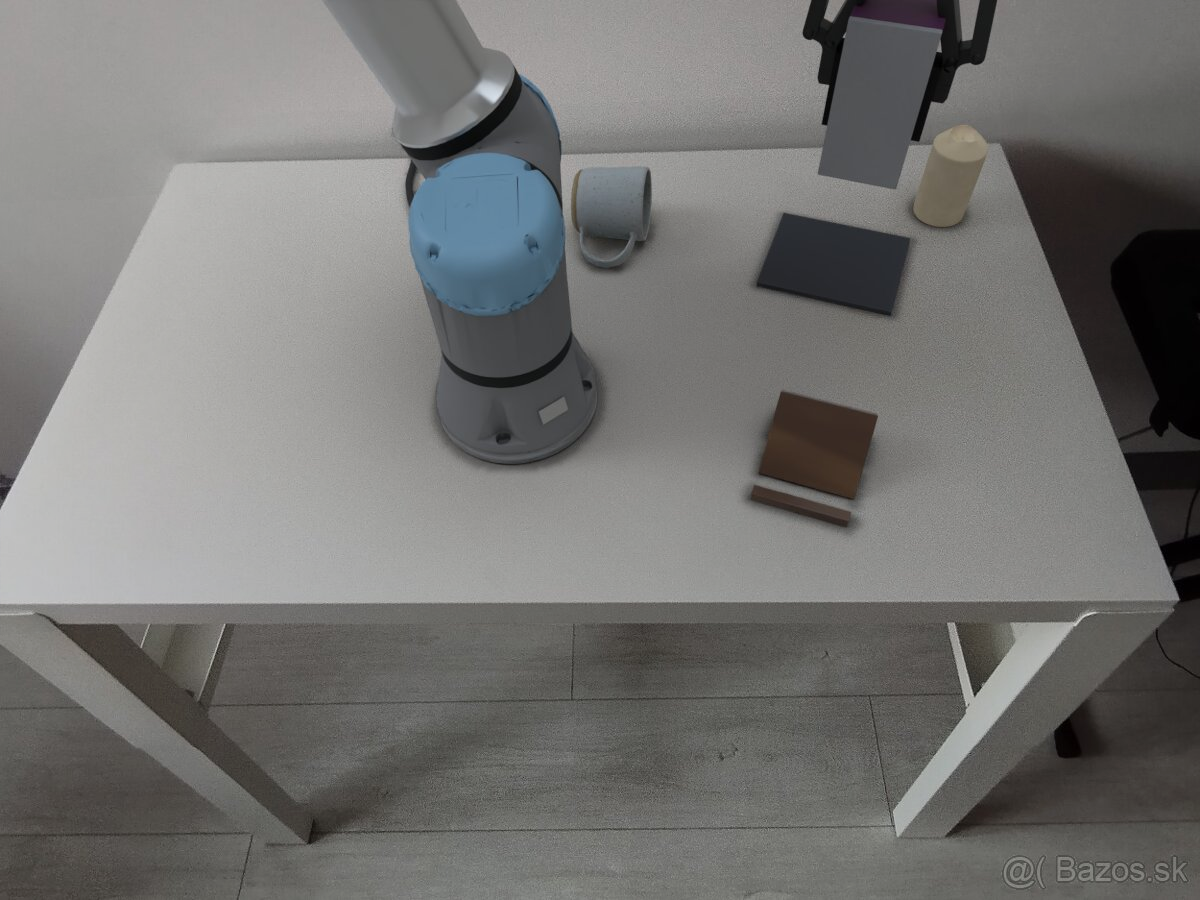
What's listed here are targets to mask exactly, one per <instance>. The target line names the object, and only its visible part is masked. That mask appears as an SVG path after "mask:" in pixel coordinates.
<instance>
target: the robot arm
mask: <svg viewBox="0 0 1200 900" xmlns="http://www.w3.org/2000/svg"><path fill="white" fill-rule="evenodd" d="M321 1H322V3H323V4H324V5H325V7H326V8H327V9H328V11H329V12H330V14H331V15H332V17H333V18H334V19H335V21H336V23H337V24H338V25H339V27H340V29H342V31H343V33H344V35H346V37H347V38H348V40H349V41H350V43H352V45H353V47H354V48H355V50H356V51H357V52H358V54H359V55H360V57H361V58H362V60H363V61H364V63H365V64H366V65H367V67H368V69H369V71H371V73H372V74H373V75H374V77H375V78H376V79H377V81H378V83H379V84H380V86H381V87H382V89H383V90H384V91H385V93H386V94H387V95H388V97H389V98H390V100H391V101H392V103H393V104H394V105H395V108H394V114H393V119H392V124H391V125H392V126H391V127H392V128H391V129H392V134H393V135H394V137H395V140H396V141H397V142H398V143H399V145H400V146H401V148H402V149H403V150H404V151H405V153H406V155H407V156H408V157H409V158H410V163H409V167H408V170H407V173H406V177H405V195H406V201H407V204H408V207H409V211H408V218H407V219H408V223H407V224H408V234H409V235H408V236H409V237H408V238H409V239H408V240H409V242H408V243H409V250H410V254H411V257H412V260H413V262H414V267H415V270H416V272H417V274H418V276H419V278H420V283H421V286H422V289H423V292H424V296H425V299H426V303H427V307H428V310H429V313H430V317H431V320H432V324H433V327H434V331H435V334H436V338H437V341H438V344H439V348H440V352H441V359H440V364H439V371H438V378H437V380H436V381H437V382H436V386H435V405H436V410H437V413H438V414H437V415H438V417H439V420H440V423H441V426H442V428H443V430H444V432H445V433H446V436H447V437H448V438H449V439H450V441H452V443H454V445H456V447H458V448H459V449H460V450H463V452H465V453H466V454H469V455H470V456H472V457H475V458H477V459H480V460H483V461H486V462H490V463H496V464H503V465H505V464H506V465H515V464H526V463H527V464H528V463H531V462H537V461H540V460H543V459H546V458H548V457H551V456H554V455H556V454H557V453H560V452H562V451H563V450H566V448H568V447H569V446H570V445H572V444H573V443H574V442H576V441H577V440H578V438H580V437H581V436H582V435H583V433H584V432H585V431H586V430H587V428H588V427H589V425H590V424H591V422H592V420H593V418H594V416H595V412H596V410H597V404H598V387H597V379H596V374H595V370H594V368H593V366H592V363H591V360H590V359H589V357H588V356H587V354H586V352H585V351H584V349H583V347H582V345H581V343H580V342H579V340H578V339H577V337H576V336H575V333H574V332H573V326H572V325H573V324H572V316H571V315H572V313H571V303H570V294H569V282H568V272H567V271H568V270H567V269H568V268H567V258H566V225H565V218H564V205H563V188H562V187H563V186H562V169H561V163H562V141H561V139H560V138H561V133H560V129H559V125H558V122H557V119H556V117H555V115H554V111H553V109H552V106H551V105H550V103H549V101H548V99H547V98H546V96H545V95H544V93H543V92H542V90H540V88H539V87H538V86H537V85H536V84H534V83H533V82H532V81H531V80H530V79H528V78H527V77H526V76H524V75H522V74H520V73H519V72H518V70H517V68H516V66H515V65H514V63H513V61H512V60H511V58H510V57H509V56H508V55H507V53H505V52H503V51H502V50H497V49H493V48H489V47H483V45H482V43H481V42H480V41H481V40H479V38H478V36H477V34H476V32H475V30H474V29H473V27H472V26H471V24H470V22H469V20H468V19H467V17H466V15H465V13H464V11H463V9H462V8H461V6H460V5H459V3H458V1H457V0H321ZM864 2H865V0H844V2H843V3H842V5H841V7H840V8H839V9H838V11H837V14H836V15H835V16H834V19H833V20H832V21H830V20H829V19H826V18H825V15H826V13H827V9H828V6H829V3H830V0H810V3H809V7H808V10H807V14H806V18H805V22H804V25H803V29H802V32H801V33H802V37H803V38H804V39H805V40H807V41H812V40H813V41H815V42H817V43H819V45H820V47H821V55H820V61H819V67H818V72H817V78H816V79H817V83H818V84H819V85H825V86H828V88H827V93H826V98H825V103H824V109H823V115H822V119H821V124H820V125H821V126H826V127H827V124H828V119H829V114H830V109H831V104H832V99H833V95H834V90H835V85H836V80H837V75H838V70H839V65H840V60H841V55H842V50H843V45H844V40H845V35H846V30H847V25H848V20H849V18H850V15H851V13H852V10H853V8H854V6H862V5H863V4H864ZM997 4H998V0H979V1H978V8H977V12H976V17H975V21H974V22H975V23H974V27H973V33H972V38H971V39H966V40H963V29H962V16H961V5H960V0H937V11H938V17H939V18H945V19H946V21H945V25H944V28H943V32H942V35H941V38H940V49H941V51H937V52H936V55H935V59H934V62H933V66H932V69H931V72H930V76H929V79H928V83H927V86H926V89H925V93H924V96H923V100H922V103H921V107H920V110H919V113H918V117H917V120H916V124H915V127H914V130H913V134H912V137H911V141H910V142H916V143H919V142H920V141H921V138H922V135H923V131H924V128H925V125H926V121H927V118H928V114H929V111H930V108H931V105H932V103H937V104H945V102H946V101H947V100H948V98H949V94H950V91H951V89H952V85H953V82H954V79H955V76H956V73H957V70H958V69H959V68H960V67H961V66H963V65H968V64H971V65H972V66H980V65H981V64H983V63H984V61H985V60H986V56H987V52H988V48H989V44H990V43H989V42H990V38H991V33H992V28H993V24H994V19H995V15H996V9H997ZM417 170H418V171H419V173H420V174H421V175H422V177H423V179H424V180H423V182H421V184H420V185H419V186H418V188H417V190H416V192H415V193H414V178H415V175H416V171H417Z"/></svg>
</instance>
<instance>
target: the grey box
mask: <svg viewBox="0 0 1200 900" xmlns="http://www.w3.org/2000/svg"><path fill="white" fill-rule="evenodd" d="M945 21H946V19H945V18H939V17H938V11H937V0H865V2H864V4H863V5H862V6H854V8H853V10H852V13H851V15H850V18H849V20H848V25H847V30H846V33H845V35H844V38H845V40H844V45H843V50H842V55H841V60H840V65H839V70H838V75H837V80H836V85H835V90H834V95H833V99H832V104H831V109H830V114H829V119H828V124H827V126H826V130H825V135H824V140H823V144H822V150H821V155H820V160H819V165H818V168H817V169H818V170H817V175H818V176H822V177H823V176H824V177H829V178H833V179H838V180H844V181H849V182H855V183H859V184H863V185H870V186H875V187H878V188H879V187H880V188H886V189H891V190H895V191H896V190H897V187H898V185H899V182H900V178H901V175H902V174H901V173H902V171H903V168H904V164H905V161H906V158H907V157H906V156H907V153H908V150H909V147H910V143H911V142H912V141H911V137H912V134H913V130H914V127H915V124H916V120H917V117H918V113H919V110H920V107H921V103H922V100H923V96H924V93H925V89H926V86H927V83H928V79H929V76H930V72H931V69H932V66H933V62H934V59H935V55H936V52H938V48H939V45H940V43H941V41H940V38H941V35H942V32H943V28H944V25H945Z"/></svg>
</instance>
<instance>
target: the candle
mask: <svg viewBox="0 0 1200 900" xmlns="http://www.w3.org/2000/svg"><path fill="white" fill-rule="evenodd" d="M989 149H990V148H989V145H988V143H987V141H986V140H985V138H984V136H982V135H981V134H980V133H979V132H978V131H977V130H976V129H974V128H973V126H970V125H969V124H961V125H955V126H953V127H950V128H949V129H947V130H945V131H943V132H941V133H939V134H937V135H936V136H935V137H934V140H933V143H932V145H931V149H930V152H929V155H928V157H927V160H926V161H927V162H926V165H925V167H924V170H923V173H922V177H921V180H920V184H919V187H918V191H917V192H916V195H915V199H914V203H913V208H912V210H913V214H914V215H915V217H916V218H917V219H918V220H919V221H920V222H922V223H923V224H926V225H929V226H932V227H937V228H948V227H953V226H955V225H957V224H958V223H960V222H961V221H962V219H963V218H964V215H965V213H966V211H967V209H968V206H969V203H970V200H971V198H972V195H973V192H974V190H975V187H976V186H977V185H976V184H977V182H978V180H979V177H980V175H981V172H982V169H983V166H984V163H985V162H986V158H987V156H988V153H989Z"/></svg>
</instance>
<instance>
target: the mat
mask: <svg viewBox="0 0 1200 900" xmlns="http://www.w3.org/2000/svg"><path fill="white" fill-rule="evenodd" d="M910 241H911V237H908V236H902V235H897V234H892V233H887V232H882V231H877V230H871V229H867V228H862V227H858V226H854V225H853V226H852V225H847V224H842V223H837V222H832V221H828V220H822V219H816V218H811V217H807V216H802V215H797V214H792V213H788V212H783V213H782V216H781V219H780V221H779V224H778V226H777V229H776V232H775V235H774V237H773V239H772V242H771V245H770V246H769V249H768V252H767V255H766V258H765V260H764V262H763V265H762V267H761V270H760V273H759V276H758V278H757V281H756V287H759V288H761V287H762V288H765V289H769V290H774V291H779V292H783V293H787V294H792V295H797V296H799V297H800V296H801V297H806V298H810V299H814V300H818V301H823V302H826V303H827V302H829V303H832V304H837V305H841V306H846V307H849V308H855V309H859V310H863V311H867V312H872V313H877V314H881V315H886V316H892V314H893V310H894V306H895V302H896V298H897V294H898V290H899V286H900V283H901V282H900V281H901V277H902V273H903V269H904V265H905V261H906V257H907V254H908V249H909V245H910Z"/></svg>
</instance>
